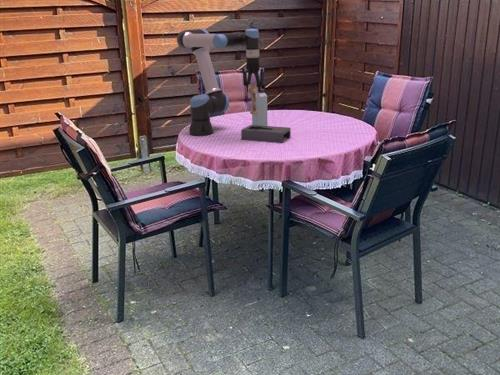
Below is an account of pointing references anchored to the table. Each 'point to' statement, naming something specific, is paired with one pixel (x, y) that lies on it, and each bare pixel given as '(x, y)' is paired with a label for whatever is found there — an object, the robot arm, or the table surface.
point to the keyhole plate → (265, 133)
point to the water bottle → (260, 110)
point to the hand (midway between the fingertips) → (254, 97)
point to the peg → (253, 98)
